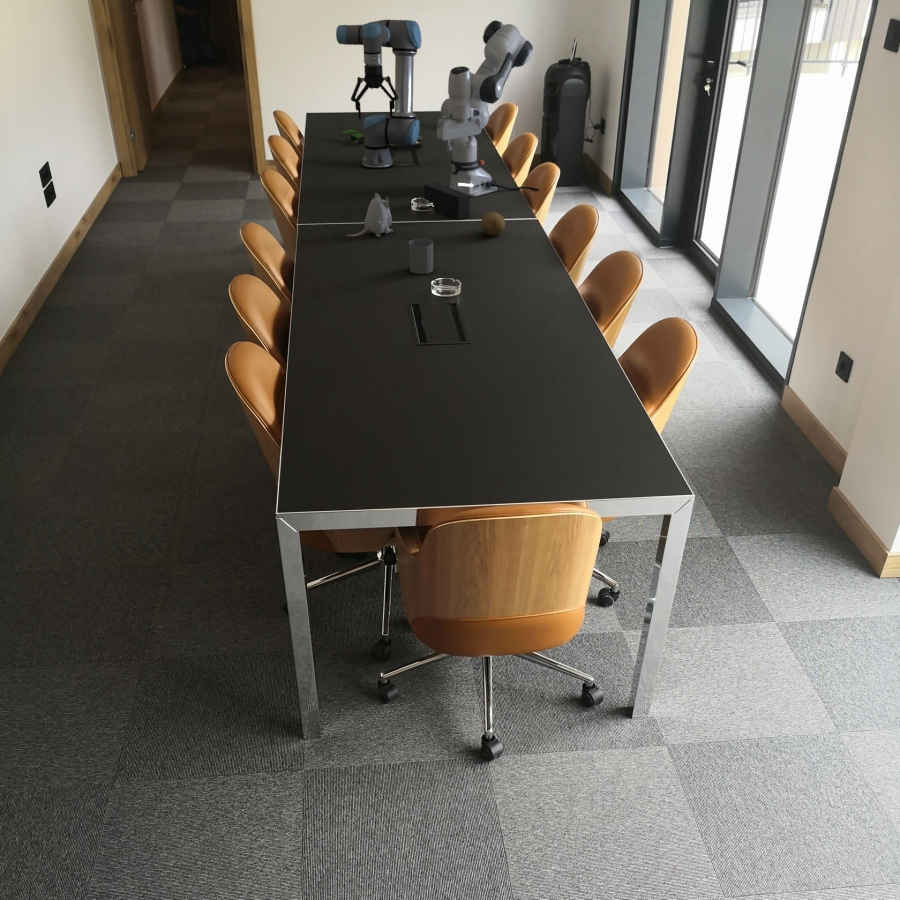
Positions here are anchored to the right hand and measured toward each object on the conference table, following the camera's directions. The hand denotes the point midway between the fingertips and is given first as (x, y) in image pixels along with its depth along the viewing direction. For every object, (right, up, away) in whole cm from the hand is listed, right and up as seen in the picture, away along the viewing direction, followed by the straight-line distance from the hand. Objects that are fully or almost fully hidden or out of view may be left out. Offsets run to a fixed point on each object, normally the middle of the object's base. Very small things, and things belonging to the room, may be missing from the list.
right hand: (459, 149), depth 346 cm
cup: (-14, -56, -38) cm, 69 cm away
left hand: (-36, +23, +28) cm, 51 cm away
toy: (-35, -37, -8) cm, 52 cm away
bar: (-5, -19, +20) cm, 28 cm away
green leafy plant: (-47, +45, +121) cm, 137 cm away
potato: (+13, -35, -5) cm, 38 cm away
